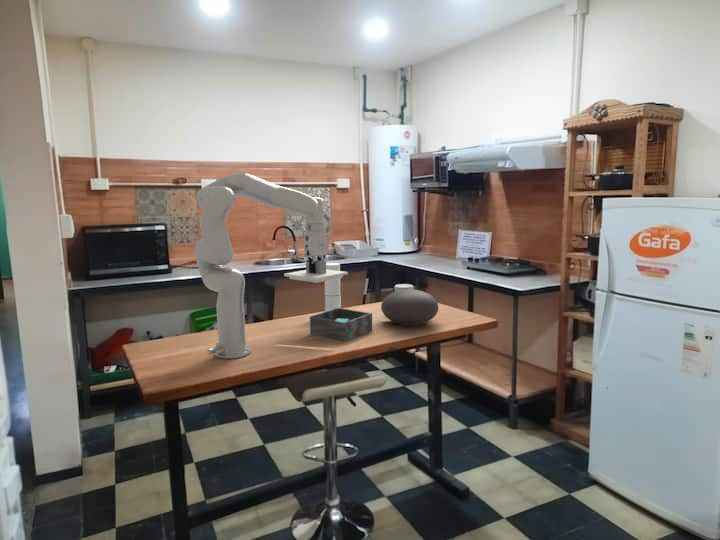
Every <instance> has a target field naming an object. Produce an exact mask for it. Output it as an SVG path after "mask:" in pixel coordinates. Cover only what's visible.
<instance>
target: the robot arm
mask: <svg viewBox="0 0 720 540" xmlns="http://www.w3.org/2000/svg"><path fill="white" fill-rule="evenodd" d="M238 197H240V198H245V199H248V200H249V201H253V202H256V203H259V204H261V205H263V206H267V207H269V208H270V207H271V208H276V209H285V210H286V212H287V213H288V214H289V215H290V216H293V217H305V226H304V228H305V232H304V238H303V239H304V240H303V251H304V252H303V255H302V257H303V259H305V261H308V263H309V272H310V273H316V264H315V263H314V262H315V260H320V261H325V258H326V257H327V256H328V254H329V253H328V252H329V247H328V243H329V242H328V237H327V236H328V235H327V232H326V230H325V202H324V198H322V197H316V196H315V197H314V196H310V195H308V194H306V193H303V192H302V191H298V190H294V189H293V188H287V187H285V186H281V185H278V184H274V183H272V182H270V181H267V180H265V179H262V178H260V177H258V176H256V175H254V174H250V173H247V172H239V173H237V172H236V173H230V174H227V175H225V176H224V177H221V178H220V179H219V178H218V179H217V180H215V181H213V182H210V183H208V184H207V185H204V186H202V188H200V189H199V190H198V192H197V194H196V199H195V200H196V203H197V205H198V206H199V207H200V208H201V209H202V212H201V215H200V219H199V226H200V230H201V231H200V232H201V236H202V238H200V239H199V240H198V241H197V242H196V244H195V246H194V257H195V260H196V261H195V262H196V264H197V268H198V271H199V273H200V274H199V275H200V276H201V280H202V282H203V284H204V286H205V287H206V288H207V289H209V290H210V291H214V292H216V293H218V295H217V300H216V309H215V310H216V322H217V338H218V342H217V343H216V344H215V346H214V347H211V348H208V349H207V354H208V355H212V354H214V355H215V357H216V358H219V359H225V360H226V359H227V360H230V359H238V358H243V357H246V356H248V355H249V354H250V353H251V347H249V346H248V345H247V339H246V325H245V324H246V322H245V306H244V305H245V304H244V302H245V301H244V300H245V299H244V297H245V296H244V295H245V287H246V279H245V276H244V274H243V273H242V271H241V270H239V269H237V268H235V267H230V266H226V265H229V264H230V263H231V262H232V261H233V259H234V249H233V245H232V242H231V239H230V235H229V232H228V227H227V217H228V214H229V212H230V210H232V207H234V205H235V202H236V201H235V200H236V198H238Z"/></svg>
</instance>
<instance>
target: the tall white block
mask: <svg viewBox="0 0 720 540" xmlns="http://www.w3.org/2000/svg"><path fill="white" fill-rule="evenodd" d="M326 269H327V270H335V271H341V264H340V262H339V263H338V262H326ZM341 295H342V294H341V278H337V279H332V280H328V281H324V303H325V304H324V305H325V308H324V309H325V311H324V312H326V311H329V310H333V309H336V308H342V303H341V300H342V298H341Z"/></svg>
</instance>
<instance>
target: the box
mask: <svg viewBox="0 0 720 540" xmlns="http://www.w3.org/2000/svg"><path fill="white" fill-rule="evenodd" d="M337 318H340V319H349V321H347V322H340V321H335V320H336V319H337ZM309 329H310V330H309V332H310V335H313V336H316V337H317V336H318V337H323V338H326V339H327V338H328V339H332V340H336V341H341V342H348V341H350V340H352V339H355V338H357V337H359V336H360V337H361V336H362V335H364V334H368V333H369V332H372V331H373V312H367V311H359V310H355V309H354V310H353V309H349V308H342V307H341V308H336V309H333V310H329V311H323V312H320V313H317V314H315V315H311V316H309Z"/></svg>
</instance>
